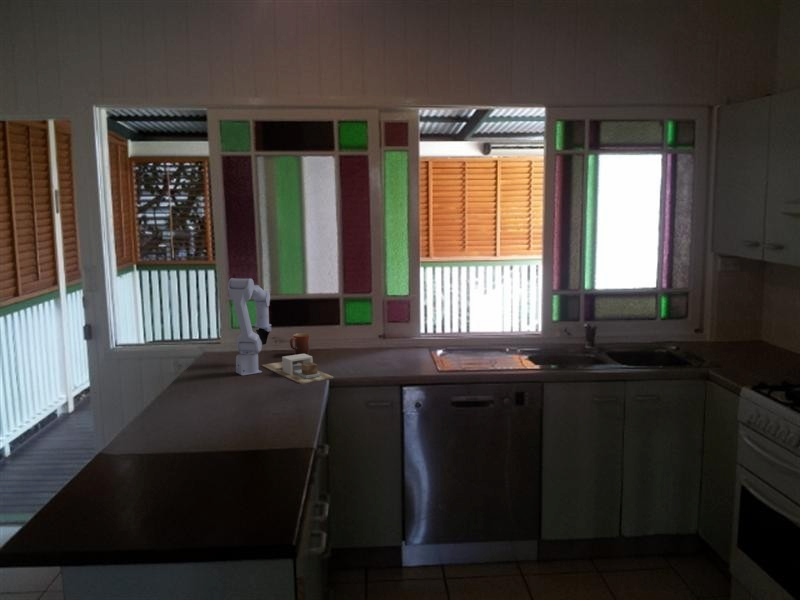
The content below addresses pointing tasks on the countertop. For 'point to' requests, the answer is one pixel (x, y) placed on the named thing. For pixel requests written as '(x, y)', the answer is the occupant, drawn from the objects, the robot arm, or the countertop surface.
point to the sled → (298, 370)
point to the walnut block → (309, 369)
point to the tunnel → (289, 359)
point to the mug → (300, 343)
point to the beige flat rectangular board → (297, 378)
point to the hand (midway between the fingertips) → (263, 344)
